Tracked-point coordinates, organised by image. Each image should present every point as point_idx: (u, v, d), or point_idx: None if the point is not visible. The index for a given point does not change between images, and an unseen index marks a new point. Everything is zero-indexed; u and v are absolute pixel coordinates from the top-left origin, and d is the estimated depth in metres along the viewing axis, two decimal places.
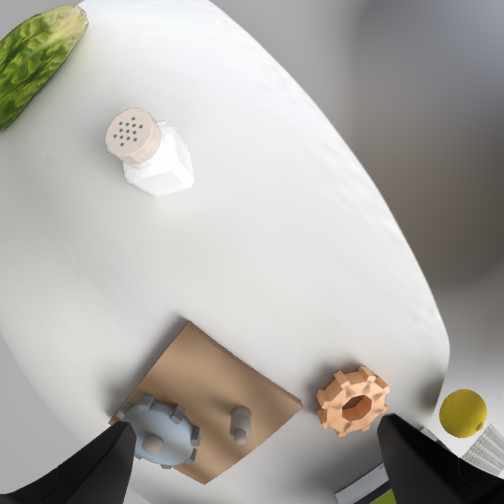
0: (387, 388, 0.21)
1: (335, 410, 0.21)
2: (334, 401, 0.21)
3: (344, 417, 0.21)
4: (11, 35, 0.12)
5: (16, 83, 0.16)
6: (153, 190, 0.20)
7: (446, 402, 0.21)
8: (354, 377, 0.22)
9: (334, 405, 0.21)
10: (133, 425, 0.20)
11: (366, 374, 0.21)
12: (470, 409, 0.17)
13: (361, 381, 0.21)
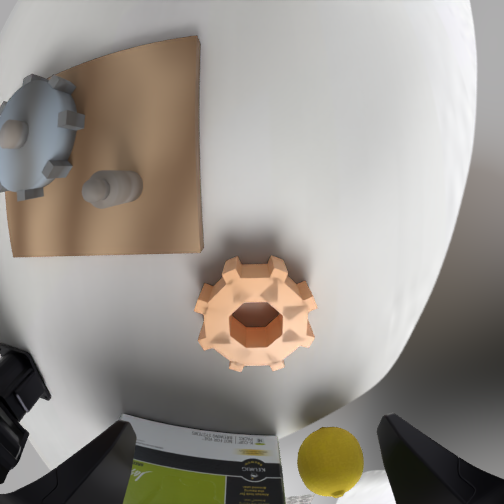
0: (310, 340, 0.15)
1: (232, 297, 0.15)
2: (245, 283, 0.14)
3: (229, 322, 0.15)
4: None
5: None
6: None
7: (328, 432, 0.18)
8: (291, 283, 0.16)
9: (239, 288, 0.14)
10: (23, 100, 0.10)
11: (309, 293, 0.15)
12: (349, 464, 0.14)
13: (297, 294, 0.15)
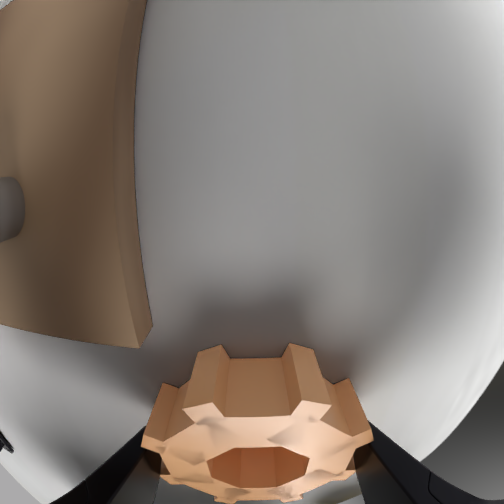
0: (351, 473, 0.06)
1: (210, 441, 0.06)
2: (235, 424, 0.06)
3: (209, 460, 0.07)
4: None
5: None
6: None
7: None
8: None
9: (223, 430, 0.06)
10: None
11: (362, 417, 0.06)
12: None
13: (341, 427, 0.06)
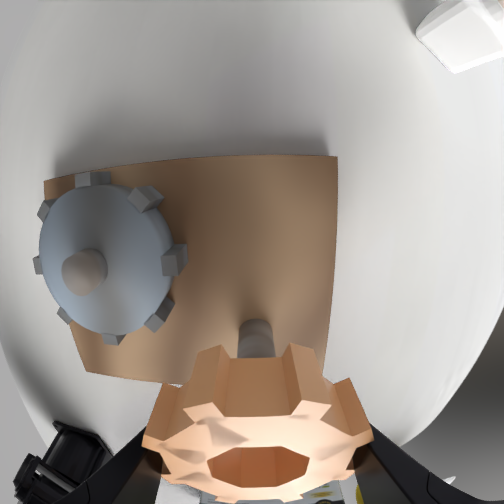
0: (351, 473, 0.07)
1: (210, 441, 0.06)
2: (235, 424, 0.06)
3: (210, 459, 0.07)
4: None
5: None
6: (443, 30, 0.08)
7: None
8: None
9: (223, 429, 0.06)
10: (84, 213, 0.10)
11: (362, 417, 0.06)
12: None
13: (341, 426, 0.06)
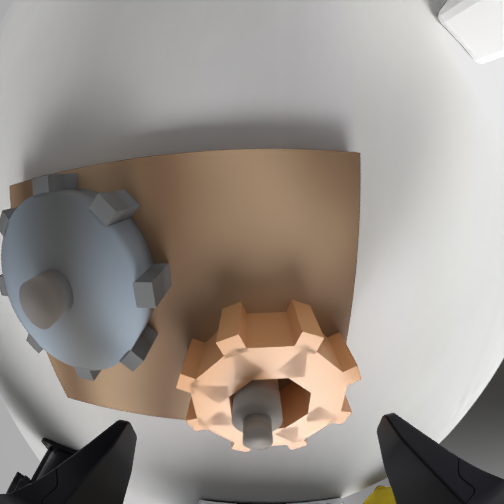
0: (346, 415, 0.09)
1: (234, 374, 0.09)
2: (254, 354, 0.08)
3: (230, 400, 0.09)
4: None
5: None
6: (471, 14, 0.05)
7: (389, 493, 0.15)
8: (322, 343, 0.10)
9: (245, 361, 0.08)
10: (43, 227, 0.08)
11: (350, 358, 0.09)
12: None
13: (334, 363, 0.09)
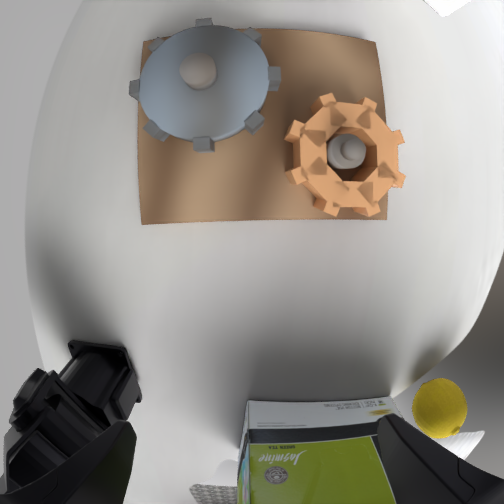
0: (402, 177, 0.13)
1: (330, 119, 0.13)
2: (341, 107, 0.13)
3: None
4: None
5: None
6: None
7: (438, 380, 0.19)
8: None
9: (336, 111, 0.13)
10: (201, 41, 0.12)
11: (394, 131, 0.13)
12: (462, 402, 0.16)
13: None
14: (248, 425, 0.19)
